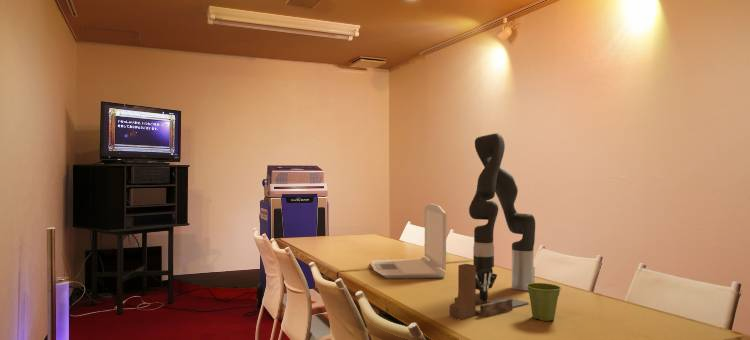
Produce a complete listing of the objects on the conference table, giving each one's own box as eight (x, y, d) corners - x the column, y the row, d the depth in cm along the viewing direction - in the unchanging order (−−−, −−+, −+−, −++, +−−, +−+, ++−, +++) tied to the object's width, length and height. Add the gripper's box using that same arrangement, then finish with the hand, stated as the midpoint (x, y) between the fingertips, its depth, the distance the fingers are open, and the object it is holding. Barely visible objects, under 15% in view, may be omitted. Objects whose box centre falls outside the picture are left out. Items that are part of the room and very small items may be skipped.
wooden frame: (483, 302, 196) (483, 291, 196) (512, 309, 184) (512, 299, 184) (454, 308, 186) (454, 297, 186) (483, 317, 175) (483, 305, 175)
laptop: (368, 265, 275) (368, 202, 275) (426, 264, 279) (426, 202, 279) (377, 281, 234) (377, 207, 234) (445, 279, 238) (446, 207, 238)
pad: (505, 298, 202) (505, 296, 202) (528, 304, 193) (528, 302, 193) (489, 302, 196) (489, 300, 196) (512, 308, 187) (512, 306, 187)
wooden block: (458, 320, 171) (458, 268, 171) (449, 317, 174) (449, 266, 174) (475, 316, 176) (476, 265, 176) (466, 313, 180) (466, 263, 180)
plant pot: (568, 321, 170) (569, 288, 170) (539, 324, 167) (539, 290, 167) (547, 312, 181) (547, 281, 182) (519, 314, 178) (519, 283, 178)
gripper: (487, 251, 192) (487, 296, 192) (464, 254, 184) (463, 301, 184) (503, 253, 186) (503, 300, 186) (479, 257, 178) (479, 305, 178)
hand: (483, 300), depth 185 cm, fingers closed
